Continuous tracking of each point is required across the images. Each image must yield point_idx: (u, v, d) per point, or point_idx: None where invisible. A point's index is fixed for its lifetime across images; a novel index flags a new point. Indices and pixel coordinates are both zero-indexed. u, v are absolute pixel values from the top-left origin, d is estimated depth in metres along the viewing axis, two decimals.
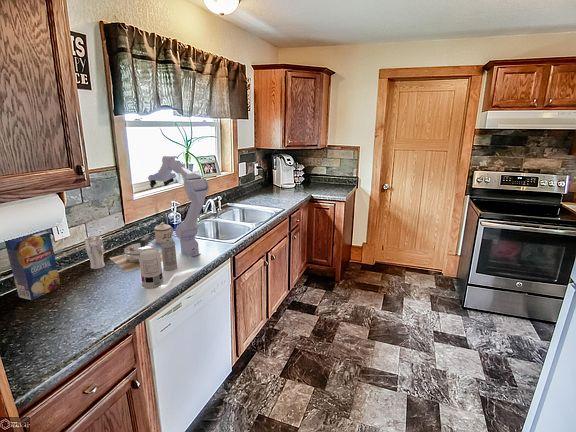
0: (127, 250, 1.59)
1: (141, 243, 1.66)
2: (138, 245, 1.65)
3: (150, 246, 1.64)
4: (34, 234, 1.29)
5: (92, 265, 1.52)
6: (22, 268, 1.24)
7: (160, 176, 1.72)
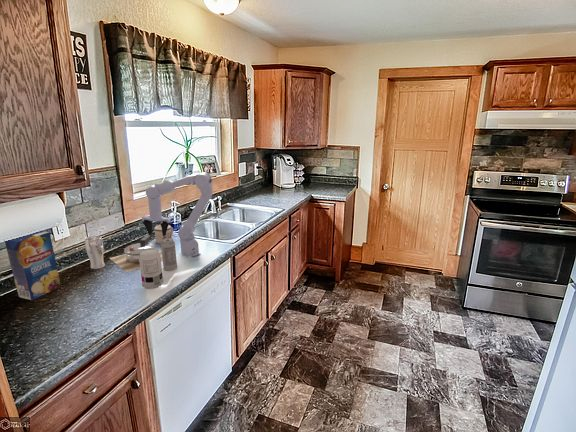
0: (127, 250, 1.59)
1: (141, 243, 1.66)
2: (138, 245, 1.65)
3: (150, 246, 1.64)
4: (34, 234, 1.29)
5: (92, 265, 1.52)
6: (22, 268, 1.24)
7: (161, 213, 1.67)
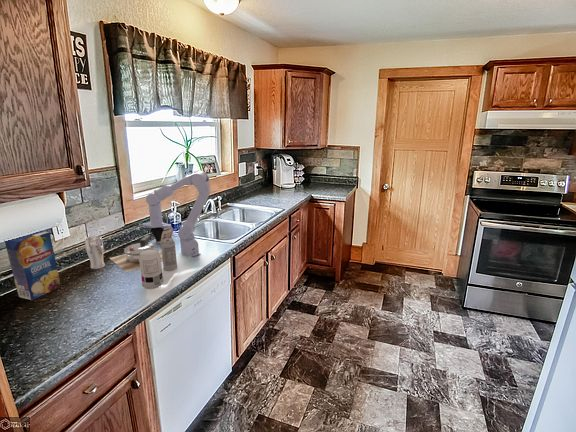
0: (127, 250, 1.59)
1: (141, 243, 1.66)
2: (138, 245, 1.65)
3: (150, 246, 1.64)
4: (34, 234, 1.29)
5: (92, 265, 1.52)
6: (22, 268, 1.24)
7: None
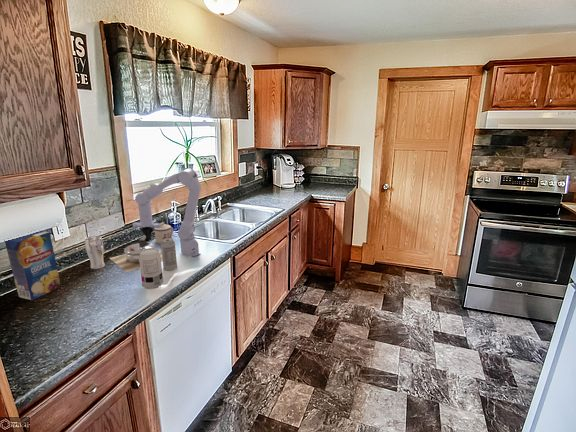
0: (127, 250, 1.58)
1: (140, 243, 1.66)
2: (137, 245, 1.65)
3: (150, 246, 1.64)
4: (34, 234, 1.29)
5: (92, 265, 1.52)
6: (22, 268, 1.24)
7: None
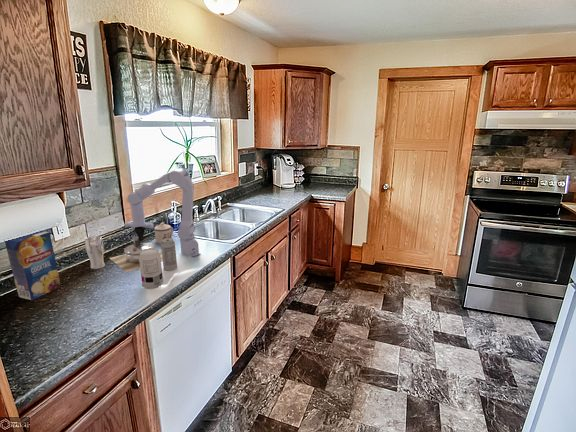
0: (131, 251, 1.57)
1: (136, 243, 1.65)
2: (134, 246, 1.64)
3: (149, 244, 1.66)
4: (34, 234, 1.29)
5: (92, 265, 1.52)
6: (22, 268, 1.24)
7: (144, 218, 1.69)
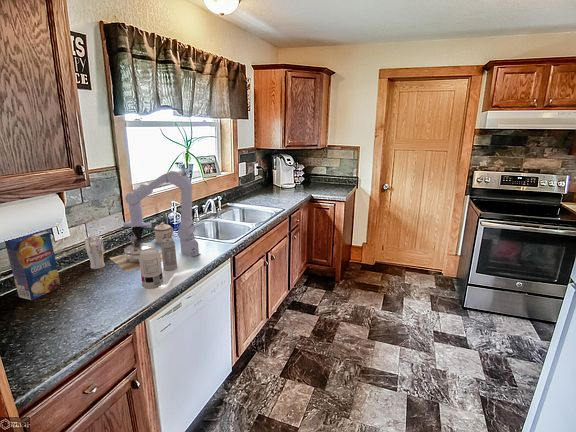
0: (132, 251, 1.57)
1: (135, 243, 1.65)
2: (133, 246, 1.64)
3: (148, 244, 1.66)
4: (34, 234, 1.29)
5: (92, 265, 1.52)
6: (22, 268, 1.24)
7: (142, 218, 1.69)
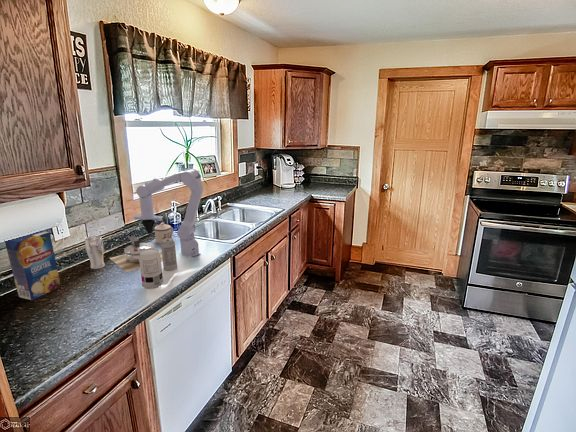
0: (132, 251, 1.57)
1: (135, 243, 1.65)
2: (133, 246, 1.64)
3: (148, 244, 1.66)
4: (34, 234, 1.29)
5: (92, 265, 1.52)
6: (22, 268, 1.24)
7: None
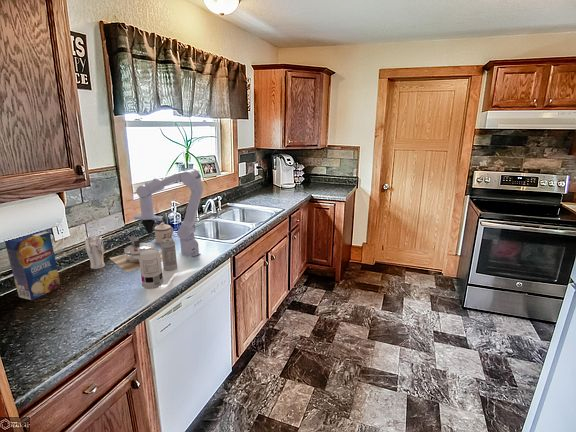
0: (132, 251, 1.57)
1: (135, 243, 1.65)
2: (133, 246, 1.64)
3: (148, 244, 1.66)
4: (34, 234, 1.29)
5: (92, 265, 1.52)
6: (22, 268, 1.24)
7: None
